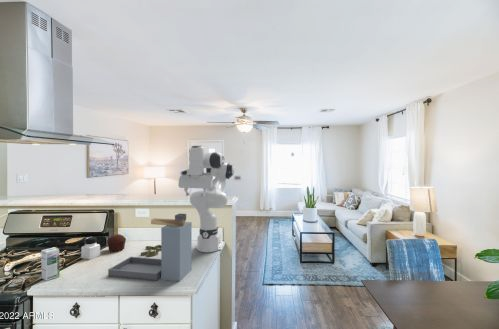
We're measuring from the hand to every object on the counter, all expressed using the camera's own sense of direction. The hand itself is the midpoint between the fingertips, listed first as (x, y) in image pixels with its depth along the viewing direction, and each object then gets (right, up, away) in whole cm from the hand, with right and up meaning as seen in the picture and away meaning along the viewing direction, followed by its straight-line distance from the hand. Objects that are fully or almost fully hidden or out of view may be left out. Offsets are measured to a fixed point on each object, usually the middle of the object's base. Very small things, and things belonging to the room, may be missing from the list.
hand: (195, 196), depth 150 cm
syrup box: (-69, -39, -20) cm, 82 cm away
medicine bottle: (-66, -39, +8) cm, 77 cm away
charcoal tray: (-26, -39, -12) cm, 48 cm away
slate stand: (-6, -39, -16) cm, 42 cm away
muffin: (-56, -39, +20) cm, 71 cm away
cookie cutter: (-32, -39, +18) cm, 53 cm away
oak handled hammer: (-11, -13, -15) cm, 23 cm away
